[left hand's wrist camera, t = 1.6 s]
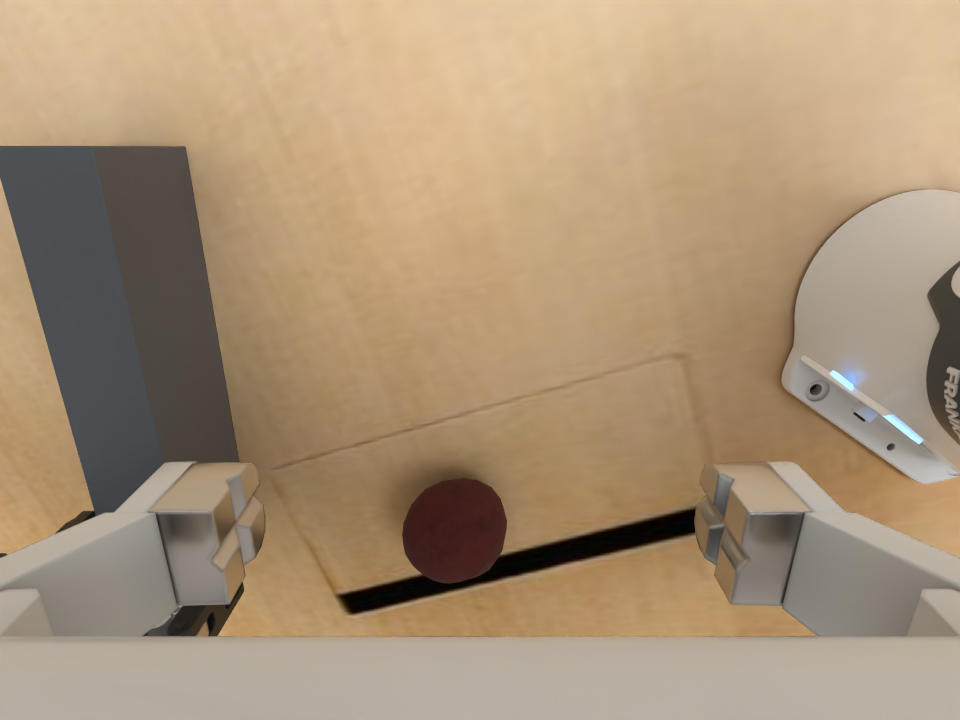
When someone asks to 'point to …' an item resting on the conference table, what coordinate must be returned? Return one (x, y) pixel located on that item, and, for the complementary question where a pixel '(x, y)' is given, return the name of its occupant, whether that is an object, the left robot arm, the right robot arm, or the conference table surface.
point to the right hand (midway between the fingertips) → (161, 521)
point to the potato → (455, 530)
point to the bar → (122, 307)
